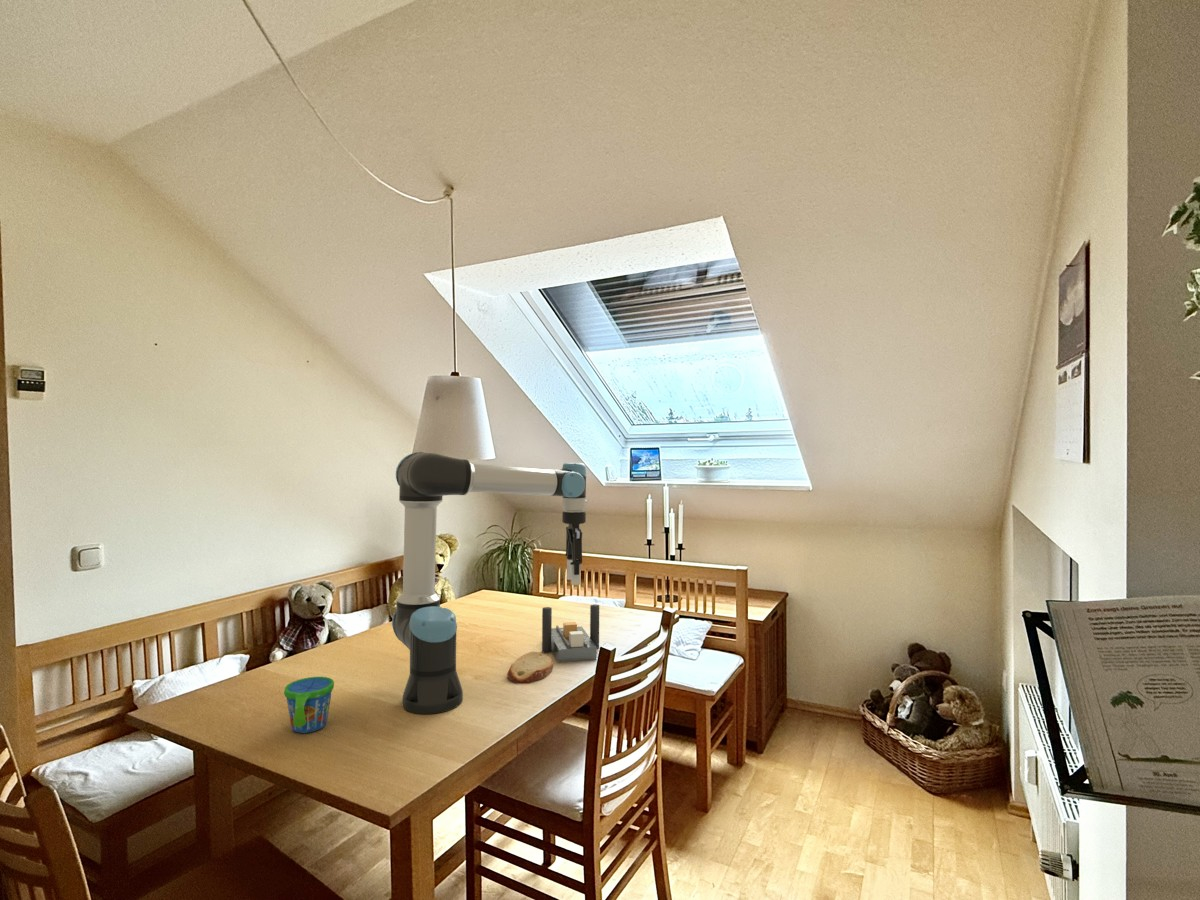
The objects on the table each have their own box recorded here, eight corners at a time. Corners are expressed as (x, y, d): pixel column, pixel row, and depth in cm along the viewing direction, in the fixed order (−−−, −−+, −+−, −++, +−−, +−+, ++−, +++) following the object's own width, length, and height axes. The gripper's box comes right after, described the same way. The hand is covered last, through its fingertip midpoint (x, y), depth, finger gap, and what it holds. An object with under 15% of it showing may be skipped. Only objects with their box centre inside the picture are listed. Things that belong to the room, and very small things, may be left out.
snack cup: (300, 713, 152) (301, 672, 152) (344, 712, 152) (344, 671, 152) (270, 743, 136) (270, 698, 136) (318, 742, 137) (319, 697, 137)
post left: (552, 652, 197) (552, 609, 197) (542, 653, 197) (543, 609, 196) (550, 649, 200) (550, 606, 200) (541, 650, 200) (541, 607, 199)
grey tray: (596, 659, 191) (596, 643, 191) (558, 662, 188) (558, 646, 188) (581, 637, 213) (581, 623, 212) (547, 640, 210) (547, 625, 210)
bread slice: (540, 656, 195) (540, 644, 195) (571, 673, 180) (571, 661, 180) (488, 668, 184) (489, 655, 184) (517, 687, 170) (517, 674, 170)
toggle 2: (583, 646, 191) (583, 633, 191) (570, 647, 190) (571, 634, 190) (581, 643, 194) (581, 630, 194) (569, 644, 193) (569, 631, 193)
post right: (600, 648, 201) (600, 606, 201) (591, 649, 201) (591, 607, 200) (597, 645, 204) (598, 604, 204) (589, 646, 203) (589, 604, 203)
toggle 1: (576, 636, 201) (576, 624, 201) (564, 637, 200) (565, 625, 200) (575, 633, 204) (575, 621, 204) (563, 634, 203) (563, 622, 203)
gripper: (592, 514, 188) (591, 588, 188) (579, 507, 207) (578, 575, 207) (568, 514, 186) (567, 589, 186) (557, 507, 205) (556, 576, 205)
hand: (573, 581), depth 197 cm, fingers open, 7 cm apart
